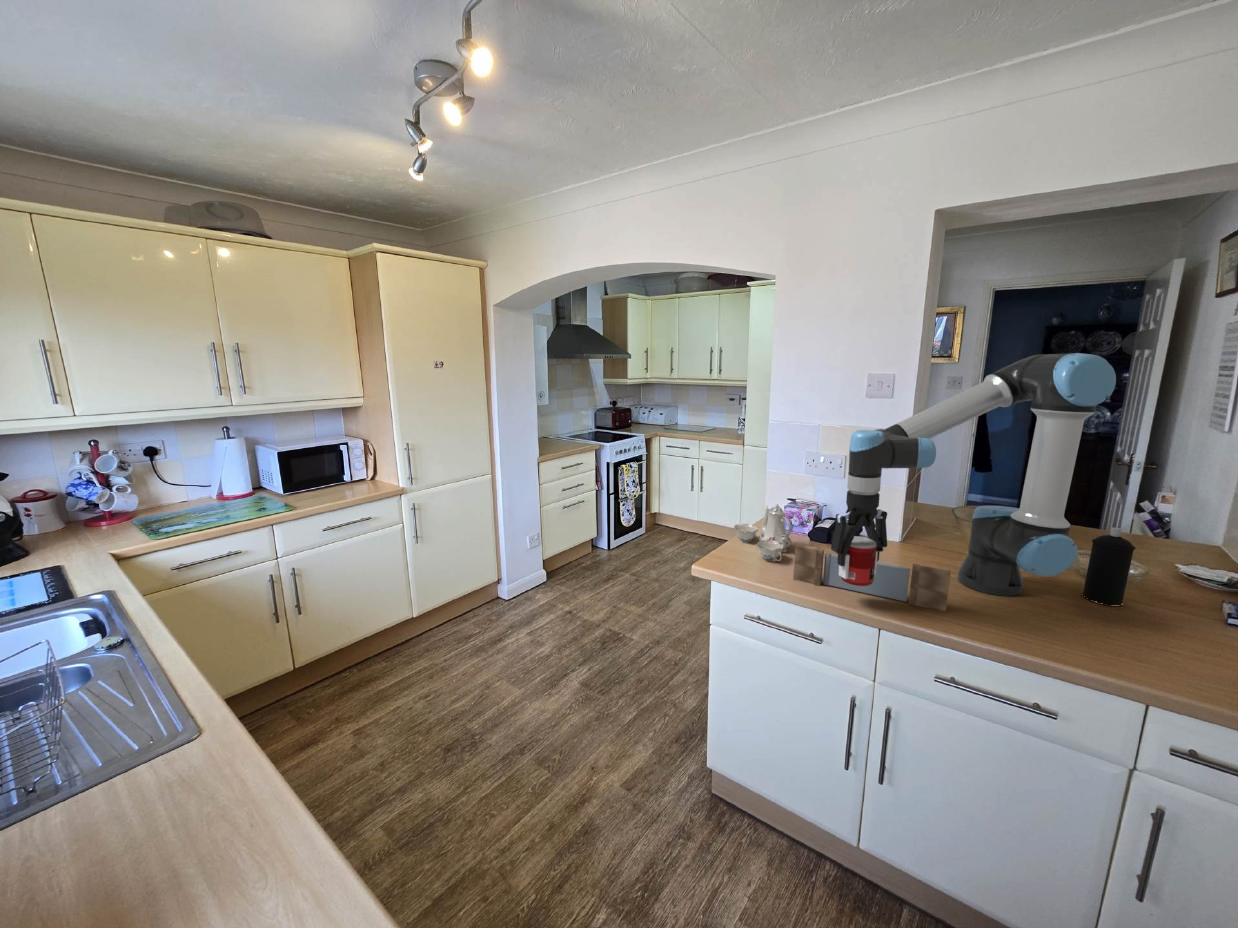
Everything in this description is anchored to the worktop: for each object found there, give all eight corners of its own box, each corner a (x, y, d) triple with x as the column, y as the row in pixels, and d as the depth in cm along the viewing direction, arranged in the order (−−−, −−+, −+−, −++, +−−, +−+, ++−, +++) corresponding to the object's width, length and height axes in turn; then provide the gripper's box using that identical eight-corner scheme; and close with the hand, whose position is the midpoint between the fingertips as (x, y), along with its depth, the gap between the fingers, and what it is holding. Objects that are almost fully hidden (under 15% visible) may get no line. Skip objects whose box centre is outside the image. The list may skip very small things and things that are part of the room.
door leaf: (906, 599, 134) (910, 568, 132) (906, 601, 132) (910, 570, 130) (823, 581, 145) (825, 552, 143) (822, 584, 143) (824, 554, 141)
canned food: (877, 587, 127) (880, 546, 125) (843, 585, 129) (846, 545, 126) (868, 574, 134) (871, 536, 132) (837, 573, 136) (839, 535, 134)
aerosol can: (1109, 608, 128) (1124, 535, 124) (1073, 594, 136) (1086, 525, 132) (1131, 604, 131) (1147, 532, 127) (1094, 590, 138) (1108, 522, 134)
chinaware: (726, 542, 183) (723, 499, 179) (765, 533, 187) (763, 491, 183) (769, 572, 156) (767, 523, 152) (814, 561, 161) (813, 512, 157)
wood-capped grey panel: (945, 607, 130) (950, 570, 128) (945, 612, 127) (950, 574, 125) (795, 576, 149) (797, 543, 147) (792, 580, 147) (795, 546, 145)
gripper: (886, 484, 132) (880, 564, 137) (818, 491, 128) (814, 573, 132) (908, 491, 125) (901, 575, 130) (837, 498, 121) (832, 585, 125)
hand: (857, 574), depth 131 cm, fingers closed on canned food, 8 cm apart
